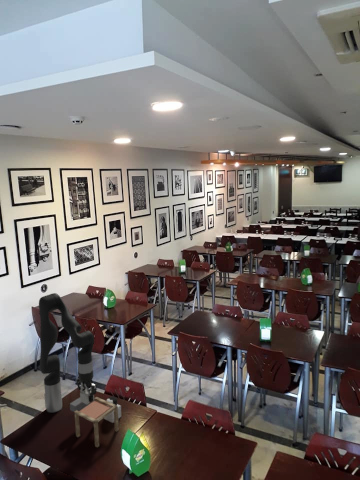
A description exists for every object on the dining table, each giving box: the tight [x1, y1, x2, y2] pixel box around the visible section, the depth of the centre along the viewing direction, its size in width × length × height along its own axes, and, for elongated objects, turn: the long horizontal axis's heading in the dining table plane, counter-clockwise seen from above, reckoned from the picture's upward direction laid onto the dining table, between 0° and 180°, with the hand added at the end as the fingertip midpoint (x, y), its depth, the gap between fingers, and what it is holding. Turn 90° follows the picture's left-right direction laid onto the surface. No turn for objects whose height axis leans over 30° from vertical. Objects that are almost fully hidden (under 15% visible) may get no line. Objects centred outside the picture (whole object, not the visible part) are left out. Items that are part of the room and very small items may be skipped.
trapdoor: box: [69, 397, 111, 419], centre depth 198 cm, size 20×12×4 cm, turn 56°
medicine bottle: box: [103, 396, 122, 424], centre depth 209 cm, size 7×7×12 cm
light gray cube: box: [79, 389, 95, 404], centre depth 190 cm, size 5×5×5 cm
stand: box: [74, 396, 120, 448], centre depth 196 cm, size 16×16×14 cm
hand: (87, 399), depth 191 cm, fingers closed on light gray cube, 5 cm apart
